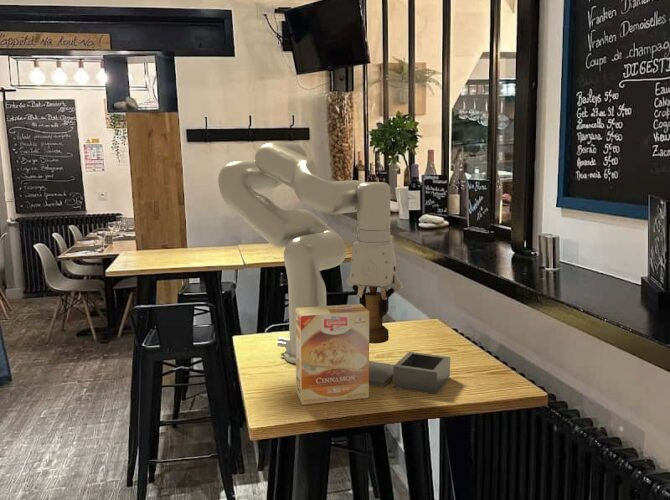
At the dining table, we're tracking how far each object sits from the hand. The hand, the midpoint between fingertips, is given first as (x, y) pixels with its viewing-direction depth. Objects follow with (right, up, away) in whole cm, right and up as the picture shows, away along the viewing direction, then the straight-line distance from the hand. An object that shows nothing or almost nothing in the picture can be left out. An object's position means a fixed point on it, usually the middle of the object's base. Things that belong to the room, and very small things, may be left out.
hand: (373, 313), depth 146 cm
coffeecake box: (-10, -17, -10) cm, 22 cm away
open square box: (+11, -16, -3) cm, 19 cm away
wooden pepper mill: (0, -6, +1) cm, 6 cm away
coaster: (0, -15, +2) cm, 15 cm away
